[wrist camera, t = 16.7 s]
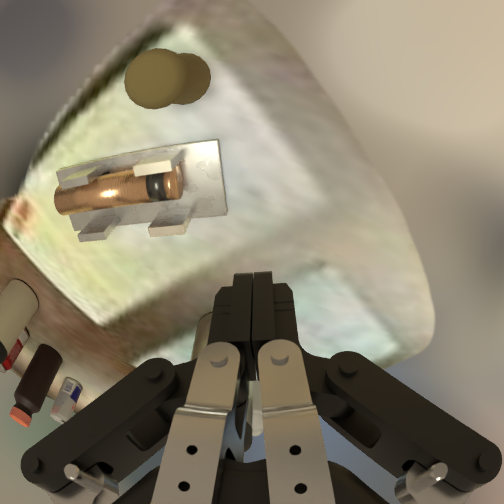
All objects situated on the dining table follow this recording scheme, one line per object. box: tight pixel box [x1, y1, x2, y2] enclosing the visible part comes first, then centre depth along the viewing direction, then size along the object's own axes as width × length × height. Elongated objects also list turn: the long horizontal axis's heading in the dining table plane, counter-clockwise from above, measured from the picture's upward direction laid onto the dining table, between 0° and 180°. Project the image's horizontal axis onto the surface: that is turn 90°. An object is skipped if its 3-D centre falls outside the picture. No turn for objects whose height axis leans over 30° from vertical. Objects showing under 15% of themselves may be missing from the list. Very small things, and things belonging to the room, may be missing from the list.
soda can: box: [0, 328, 29, 373], centre depth 46 cm, size 7×7×12 cm
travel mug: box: [0, 279, 38, 364], centre depth 38 cm, size 8×8×18 cm
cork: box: [124, 48, 211, 109], centre depth 23 cm, size 6×6×11 cm
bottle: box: [10, 345, 62, 427], centre depth 47 cm, size 7×7×20 cm
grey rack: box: [56, 139, 227, 242], centre depth 32 cm, size 9×22×6 cm, turn 95°
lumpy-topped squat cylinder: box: [252, 379, 263, 436], centre depth 55 cm, size 10×13×9 cm
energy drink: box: [50, 378, 82, 424], centre depth 57 cm, size 5×5×12 cm
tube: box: [54, 164, 183, 215], centre depth 31 cm, size 16×4×4 cm, turn 95°
